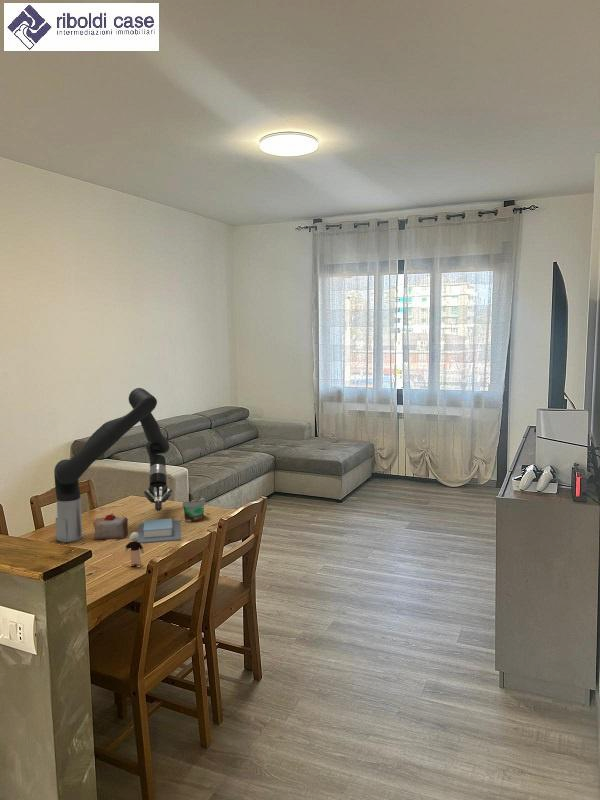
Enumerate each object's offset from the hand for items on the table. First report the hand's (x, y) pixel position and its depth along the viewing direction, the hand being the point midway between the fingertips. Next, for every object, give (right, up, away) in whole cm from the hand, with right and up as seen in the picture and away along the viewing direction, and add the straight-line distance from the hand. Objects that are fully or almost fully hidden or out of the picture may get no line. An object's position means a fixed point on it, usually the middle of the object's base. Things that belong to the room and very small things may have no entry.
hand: (158, 510), depth 258 cm
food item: (-17, -10, -10) cm, 22 cm away
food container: (+15, -7, +11) cm, 20 cm away
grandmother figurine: (+2, -13, -41) cm, 43 cm away
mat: (+1, -9, -4) cm, 10 cm away
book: (0, -6, +1) cm, 6 cm away
